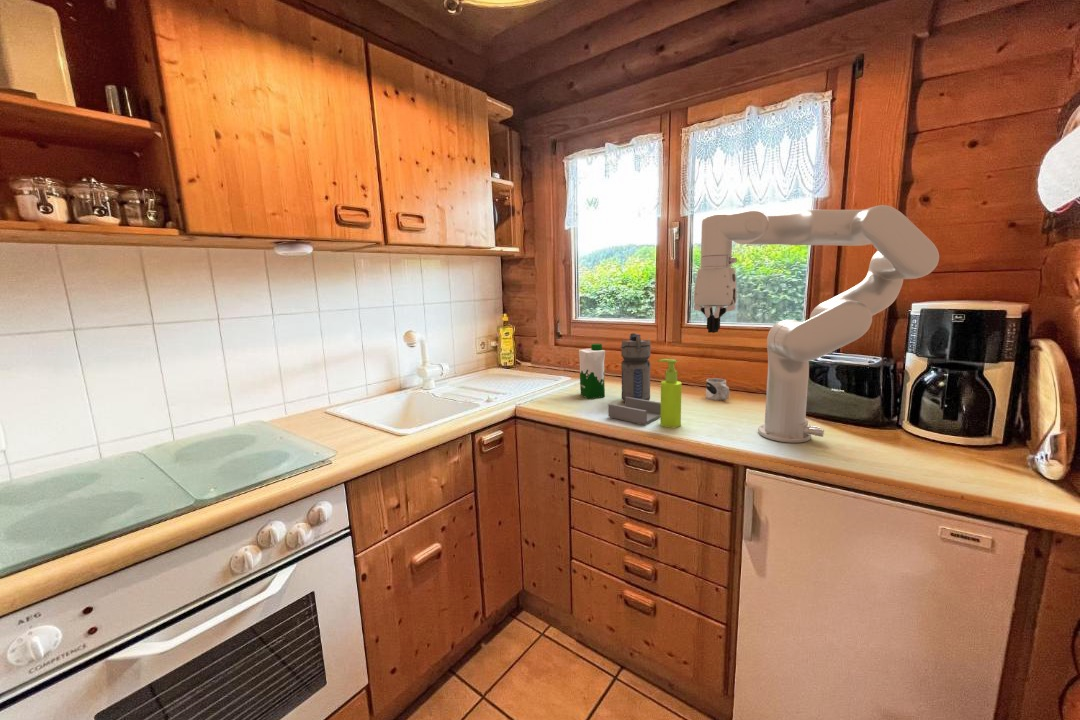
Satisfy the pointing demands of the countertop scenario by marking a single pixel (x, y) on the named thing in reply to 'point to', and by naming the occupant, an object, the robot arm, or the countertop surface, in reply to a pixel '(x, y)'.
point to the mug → (716, 389)
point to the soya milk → (592, 372)
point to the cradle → (636, 411)
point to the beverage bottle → (635, 368)
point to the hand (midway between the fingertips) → (713, 331)
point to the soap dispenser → (670, 397)
